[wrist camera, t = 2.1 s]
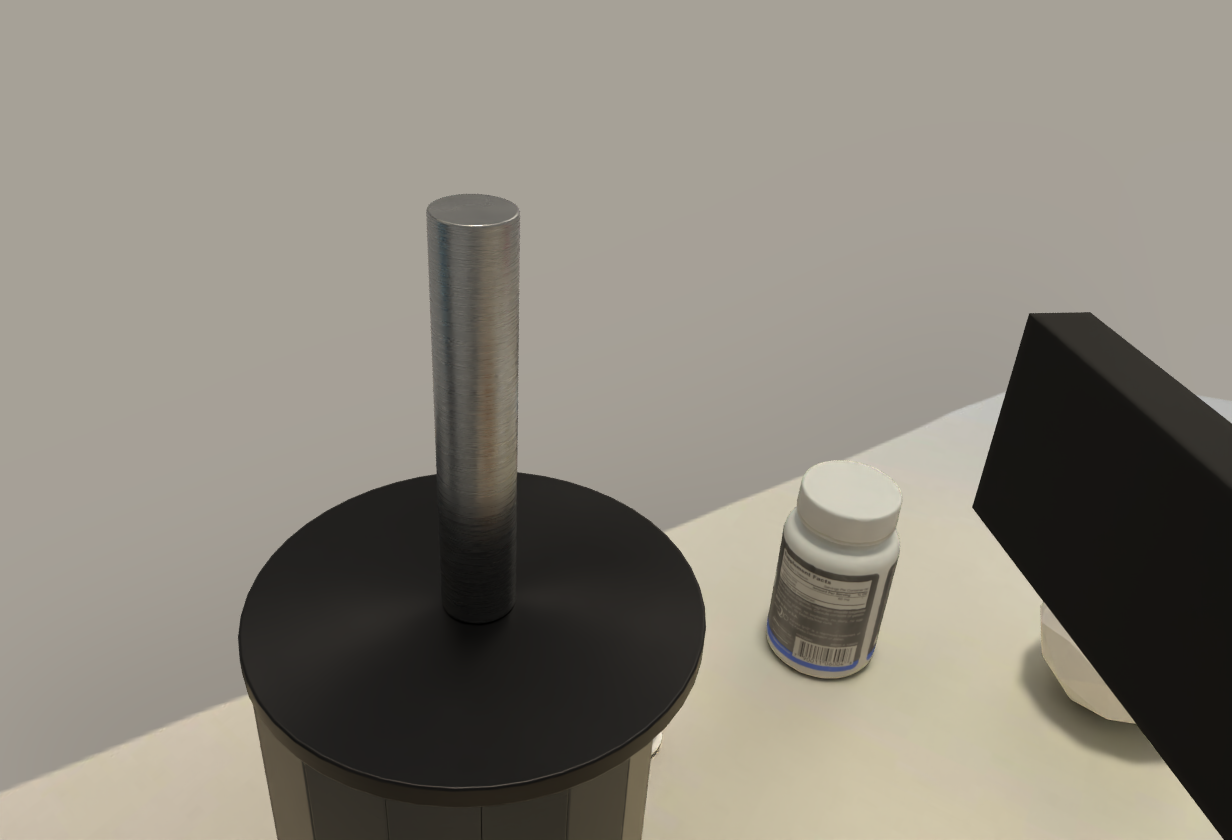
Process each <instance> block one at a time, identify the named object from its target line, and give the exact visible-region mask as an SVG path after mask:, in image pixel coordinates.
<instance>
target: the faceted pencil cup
mask: <svg viewBox="0 0 1232 840" xmlns="http://www.w3.org/2000/svg"><path fill="white" fill-rule="evenodd" d="M253 707H254V705H253ZM254 713H255V718H256V724H257V729H258V735H259V740H260V746H261V751H262V757H263V762H264V768H265V773H266V778H267V784H268V789H269V795H270V800H271V806H272V811H273V817H274V822H275V828H276V833H277V839H278V840H641V838H642V829H643V821H644V812H645V804H646V795H647V786H648V778H649V769H650V761H651V752H652V743H653V740H652V741H651V742H650V743H649V744H648V745H647V746H646V747H644V748H643V749H641V750H640V751H639V752H637V753H636V754H634V755H633V756H632V757H630V758H629V759H628V760H626V761H625V762H623V763H622V764H620V765H619V766H617V767H615V768H613V769H611V770H609V771H607V772H606V773H604V774H602V775H600V776H598V777H596V778H594V779H593V780H590V781H588V782H585V783H582V784H580V785H577V786H575V787H572V788H570V789H567V790H565V791H562V792H559V793H555V794H551V795H548V796H544V797H540V798H536V799H533V800H529V801H523V802H517V803H510V804H503V805H497V806H487V807H462V808H451V807H437V806H423V805H415V804H410V803H405V802H399V801H394V800H389V799H384V798H381V797H377V796H374V795H371V794H368V793H365V792H362V791H359V790H355V789H352V788H350V787H348V786H346V785H344V784H341V783H339V782H337V781H335V780H333V779H331V778H329V777H327V776H324V775H322V774H321V773H319V772H318V771H316V770H315V769H313V768H312V767H310V766H309V765H307V764H306V763H304V762H303V761H301V760H300V759H298V758H297V757H296V756H295V755H294V754H293V753H291V752H290V751H289V750H288V749H287V748H286V747H285V746H284V745H283V744H281V743H280V742H279V741H278V740H277V739H276V738H275V737H274V735H273V734H272V733H271V731H270V730H269V729H268V728H267V726H266V725H265V724H264V722H263V721H262V720H261V719H260V717H259V715H258V713H257V711H256V709H255V707H254Z"/></svg>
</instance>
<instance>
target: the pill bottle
mask: <svg viewBox="0 0 1232 840" xmlns="http://www.w3.org/2000/svg"><path fill="white" fill-rule="evenodd" d="M901 505H902V494H901V491H900V489H899V487H898V486H897V484H896V483H895V482H894V481H893V480H892V479H891V478H890V477H889V476H887V475H886V474H885V473H883V472H881V471H880V470H878V469H876V468H873V467H871V466H868V465H865V464H862V463H858V462H853V461H844V460H837V461H827V462H822V463H819V464H816V465H815V466H813V467H811V468H810V469H809V470H808V471H807V472H806V473H805V474H804V476H803V478H802V481H801V486H800V491H799V495H798V499H797V506H796V507H795V508H794V509H793V510H792V511H791V512H790V514H789V515H788V517H787V519H786V522H785V524H784V528H783V535H782V542H781V546H780V553H779V559H778V564H777V570H776V576H775V581H774V587H773V593H772V599H771V604H770V609H769V614H768V619H767V627H766V633H767V639H768V642H769V645H770V647H771V648H772V650H773V651H774V652H775V654H776V655H777V656H778V657H779V658H780V659H781V660H782V661H783V662H785V663H786V664H787V665H789V666H790V667H792V668H794V669H795V670H797V671H799V672H801V673H804V674H807V675H810V676H814V677H819V678H828V679H829V678H840V677H845V676H849V675H851V674H854V673H856V672H858V671H859V670H861V669H862V668H863V667H865V666H866V665H867V664H868V662H869V661H870V659H871V657H872V655H873V652H874V649H875V646H876V642H877V638H878V634H879V630H880V625H881V622H882V618H883V614H884V610H885V606H886V603H887V599H888V596H889V591H890V587H891V583H892V579H893V576H894V572H895V568H896V565H897V561H898V557H899V553H900V539H899V535H898V532H897V530H896V525H897V522H898V517H899V513H900V509H901Z"/></svg>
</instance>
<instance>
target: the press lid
mask: <svg viewBox="0 0 1232 840" xmlns="http://www.w3.org/2000/svg"><path fill="white" fill-rule="evenodd" d="M426 211H427V212H426V214H427V215H426V216H427V241H428V266H429V289H430V290H429V291H430V316H431V341H432V367H433V392H434V417H435V442H436V467H437V474H435V475H428V476H423V477H417V478H413V479H408V480H404V481H400V482H396V483H392V484H389V485H386V486H383V487H380V488H376V489H373V490H370V491H368V492H366V493H363V494H361V495H358V496H356V497H353V498H351V499H348V500H347V501H345V502H343V503H341V504H339V505H337V506H335V507H333V508H331V509H329V510H327V511H326V512H324V513H323V514H321V515H320V516H318V517H316V518H315V519H313V520H312V521H310V522H309V523H307V524H306V525H305V526H303V527H302V528H301V529H300V530H298V531H297V532H296V533H295V534H293V535H292V536H291V537H290V538H289V539H287V540H286V541H285V542H284V544H283V545H282V546H281V547H280V548H279V549H278V550H277V551H276V552H275V553H274V554H273V555H272V556H271V558H270V559H269V560H268V561H267V563H266V564H265V566H264V567H263V568H262V570H261V571H260V572H259V574H258V576H257V578H256V579H255V581H254V583H253V585H252V587H251V589H250V591H249V593H248V595H247V598H246V601H245V605H244V608H243V611H242V614H241V619H240V627H239V635H238V641H239V655H240V663H241V669H242V674H243V678H244V681H245V684H246V688H247V692H248V695H249V698H250V700H251V701H252V703H253V705H254V707H255V709H256V711H257V713H258V715H259V717H260V719H261V720H262V721H263V722H264V724H265V725H266V726H267V728H268V729H269V730H270V731H271V733H272V734H273V735H274V737H275V738H276V739H277V740H278V741H279V742H280V743H281V744H283V745H284V746H285V747H286V748H287V749H288V750H289V751H290V752H291V753H293V754H294V755H295V756H296V757H297V758H298V759H300V760H301V761H303V762H304V763H306V764H307V765H309V766H310V767H312V768H313V769H315V770H316V771H318V772H319V773H321V774H322V775H324V776H327V777H329V778H331V779H333V780H335V781H337V782H339V783H341V784H344V785H346V786H348V787H350V788H352V789H355V790H359V791H362V792H365V793H368V794H371V795H374V796H377V797H381V798H384V799H389V800H394V801H399V802H405V803H410V804H415V805H423V806H437V807H451V808H462V807H487V806H497V805H503V804H510V803H517V802H523V801H529V800H533V799H536V798H540V797H544V796H548V795H551V794H555V793H559V792H562V791H565V790H567V789H570V788H572V787H575V786H577V785H580V784H582V783H585V782H588V781H590V780H593V779H594V778H596V777H598V776H600V775H602V774H604V773H606V772H607V771H609V770H611V769H613V768H615V767H617V766H619V765H620V764H622V763H623V762H625V761H626V760H628V759H629V758H630V757H632V756H633V755H634V754H636V753H637V752H639V751H640V750H641V749H643V748H644V747H646V746H647V745H648V744H649V743H650V742H651V741H652V740H653V739H654V738H655V737H656V736H657V735H658V734H659V733H660V732H661V731H662V730H663V729H664V728H665V727H666V726H667V725H668V724H669V722H670V721H671V720H672V719H673V717H674V716H675V715H676V713H677V712H678V711H679V710H680V708H681V707H682V706H683V704H684V702H685V700H686V698H687V696H688V694H689V693H690V691H691V689H692V687H693V685H694V683H695V680H696V677H697V674H698V671H699V668H700V665H701V660H702V653H703V646H704V638H705V631H706V620H705V606H704V602H703V598H702V594H701V590H700V587H699V584H698V582H697V580H696V578H695V575H694V573H693V571H692V568H691V567H690V565H689V564H688V562H687V561H686V559H685V557H684V556H683V554H682V553H681V551H680V550H679V549H678V548H677V547H676V545H675V544H674V543H673V542H672V541H671V540H670V539H669V538H668V536H667V535H666V534H665V533H663V532H662V531H661V530H660V529H659V528H658V527H656V526H655V525H654V524H653V523H652V522H651V521H649V520H648V519H647V518H645V517H644V516H642V515H640V514H639V513H638V512H636V511H635V510H633V509H632V508H630V507H628V506H626V505H625V504H623V503H621V502H619V501H617V500H615V499H613V498H611V497H609V496H607V495H604V494H602V493H599V492H597V491H595V490H592V489H589V488H587V487H583V486H580V485H577V484H574V483H571V482H567V481H563V480H559V479H555V478H550V477H546V476H539V475H533V474H526V473H518V472H517V433H518V342H519V338H518V337H519V252H520V248H519V247H520V246H519V245H520V244H519V243H520V211H519V208H518V207H517V206H516V205H515V204H514V203H512V202H510V201H508V200H506V199H503V198H499V197H495V196H490V195H482V194H461V195H453V196H448V197H443V198H440V199H438V200H435V201H433V202H432V203H431V204H430V205H429V206H428V208H427V210H426Z"/></svg>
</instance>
